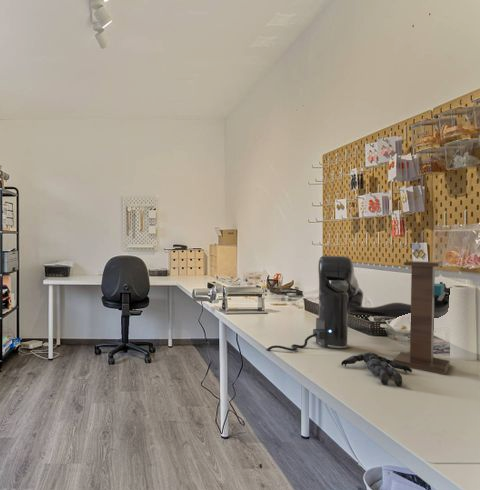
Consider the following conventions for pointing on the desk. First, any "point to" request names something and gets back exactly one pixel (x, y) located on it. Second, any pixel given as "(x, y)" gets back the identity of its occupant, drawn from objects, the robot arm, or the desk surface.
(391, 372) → the dark grey jointed piece
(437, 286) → the back pad
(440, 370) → the stand
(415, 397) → the desk surface
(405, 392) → the desk surface
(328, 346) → the robot arm
